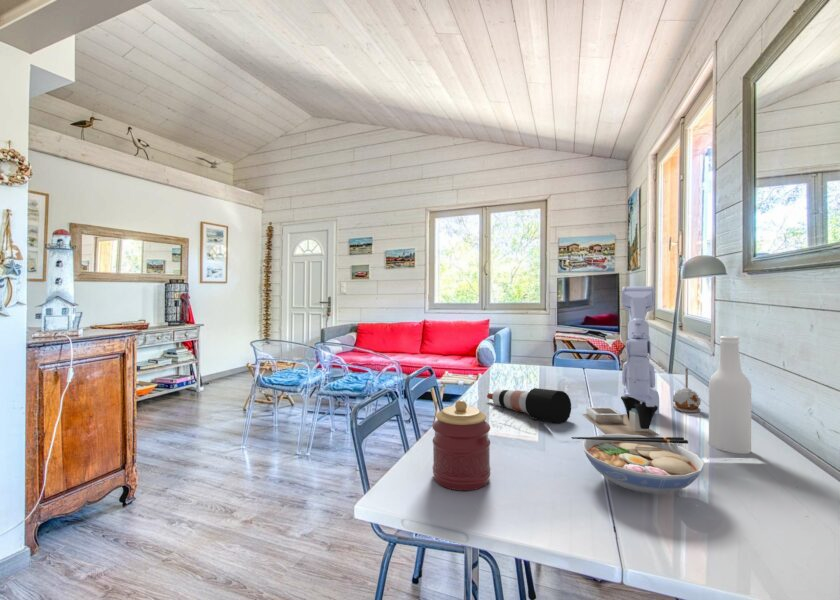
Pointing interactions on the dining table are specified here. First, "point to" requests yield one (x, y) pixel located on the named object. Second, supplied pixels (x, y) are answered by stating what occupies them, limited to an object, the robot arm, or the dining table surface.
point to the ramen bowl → (643, 462)
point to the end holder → (604, 415)
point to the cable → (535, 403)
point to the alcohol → (730, 401)
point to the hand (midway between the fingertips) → (638, 424)
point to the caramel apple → (686, 399)
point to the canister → (461, 448)
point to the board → (619, 427)
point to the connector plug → (635, 420)
